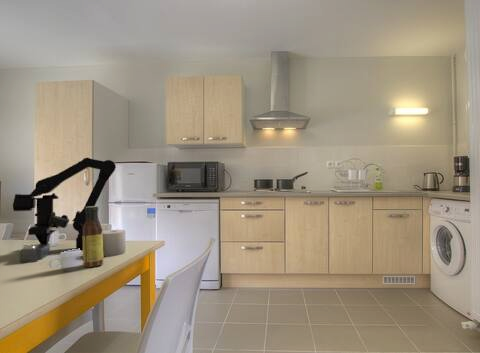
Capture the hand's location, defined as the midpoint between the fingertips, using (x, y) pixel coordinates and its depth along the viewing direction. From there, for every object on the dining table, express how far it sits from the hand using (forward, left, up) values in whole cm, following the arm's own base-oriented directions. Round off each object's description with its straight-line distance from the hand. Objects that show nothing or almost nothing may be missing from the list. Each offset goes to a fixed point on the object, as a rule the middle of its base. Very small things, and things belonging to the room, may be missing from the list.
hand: (45, 248), depth 125 cm
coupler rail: (0, +10, -1) cm, 10 cm away
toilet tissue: (-26, +12, -1) cm, 29 cm away
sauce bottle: (-23, +28, -1) cm, 36 cm away
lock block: (0, +9, -1) cm, 10 cm away
